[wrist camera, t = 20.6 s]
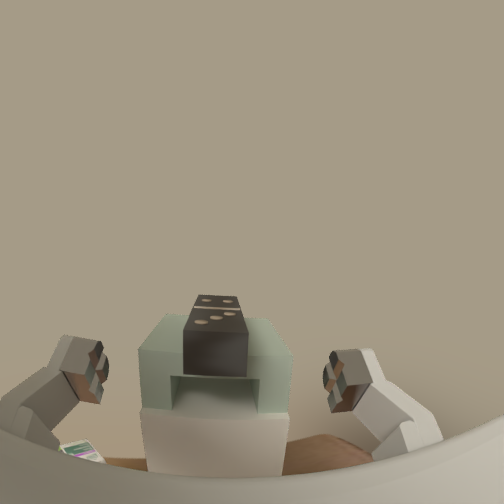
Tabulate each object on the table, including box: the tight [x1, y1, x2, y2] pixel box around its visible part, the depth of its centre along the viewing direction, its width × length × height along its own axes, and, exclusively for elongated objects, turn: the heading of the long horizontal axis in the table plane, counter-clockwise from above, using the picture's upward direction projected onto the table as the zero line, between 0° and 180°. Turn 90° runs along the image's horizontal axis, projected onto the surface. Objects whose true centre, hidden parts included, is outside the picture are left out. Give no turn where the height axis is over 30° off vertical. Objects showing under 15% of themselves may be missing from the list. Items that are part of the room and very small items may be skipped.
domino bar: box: [183, 295, 249, 377], centre depth 25 cm, size 4×14×3 cm, turn 6°
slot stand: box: [138, 314, 293, 478], centre depth 28 cm, size 12×14×33 cm
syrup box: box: [58, 439, 106, 464], centre depth 27 cm, size 6×6×14 cm
